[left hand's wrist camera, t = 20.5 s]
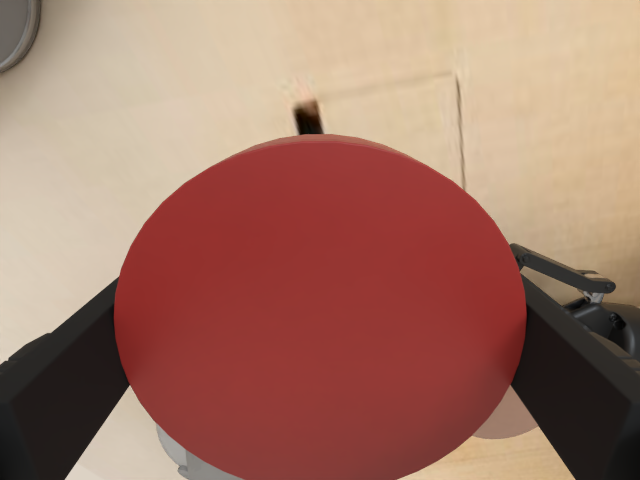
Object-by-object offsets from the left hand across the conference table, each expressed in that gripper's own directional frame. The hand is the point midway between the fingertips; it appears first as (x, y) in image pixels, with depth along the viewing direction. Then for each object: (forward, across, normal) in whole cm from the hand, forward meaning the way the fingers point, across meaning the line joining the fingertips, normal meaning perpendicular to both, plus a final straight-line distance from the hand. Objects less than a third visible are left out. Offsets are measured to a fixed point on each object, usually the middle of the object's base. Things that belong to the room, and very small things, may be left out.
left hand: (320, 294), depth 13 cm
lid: (-3, 0, 0) cm, 3 cm away
